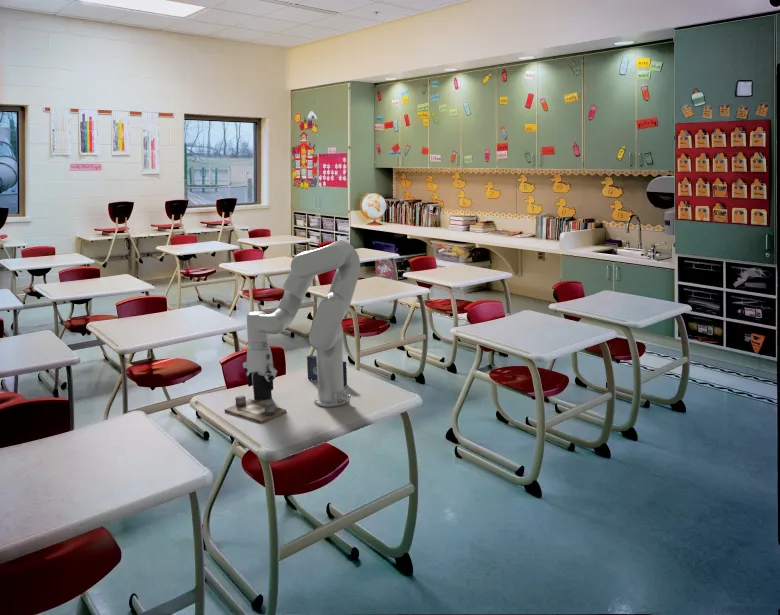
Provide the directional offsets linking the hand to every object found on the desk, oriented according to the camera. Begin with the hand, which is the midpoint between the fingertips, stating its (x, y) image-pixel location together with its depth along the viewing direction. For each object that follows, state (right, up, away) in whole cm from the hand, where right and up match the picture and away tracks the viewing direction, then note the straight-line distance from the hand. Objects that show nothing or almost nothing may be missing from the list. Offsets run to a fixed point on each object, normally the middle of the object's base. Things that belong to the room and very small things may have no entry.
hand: (260, 388), depth 242 cm
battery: (0, -4, +1) cm, 4 cm away
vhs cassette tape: (+23, 0, +17) cm, 29 cm away
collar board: (+1, -7, -12) cm, 14 cm away
